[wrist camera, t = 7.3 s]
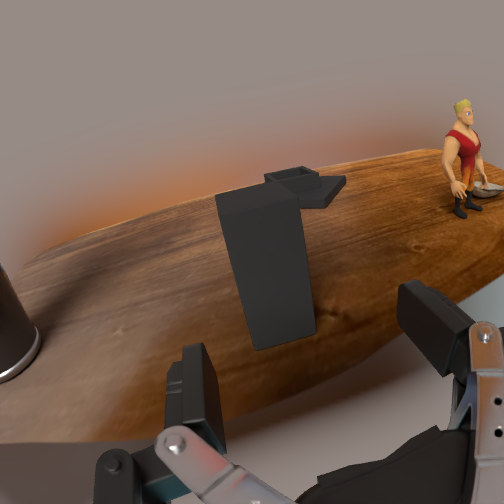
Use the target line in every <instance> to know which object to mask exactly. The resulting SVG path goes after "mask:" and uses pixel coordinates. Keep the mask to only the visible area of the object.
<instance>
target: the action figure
mask: <svg viewBox="0 0 504 504" xmlns="http://www.w3.org/2000/svg"><path fill="white" fill-rule="evenodd" d="M454 109H455V111H456V115H457V117H458V120H457V121H456V123H455V124H454V125H453V127H452V129H451V131H450V132H449V133H448V134H447V135H446V139H445V143H444V146H443V152H442V156H441V163H442V168H443V171H444V173H445V175H446V177H447V178H448V179H449V181H450V182H451V190H452V193H453V195H454V196H455V208H454V212H455V213H456V214H457V215H458V216H459V217H461V218H467V214H466V213H464V212H463V211H462V210H461V208H460V201H461V199H463V195H464V196H465V197H466V203H465V207H466V208H474V209H476V210H480V211H481V210H483V208H482V207H481V206H477V205H475V204H473V203H472V202H471V196H472V194H473V188H474V166H475V167H476V168H477V170H478V172H479V177H480V180H481V185H480V186H479V188H480V187H481V186H482V187H481V189H483V187H484V190H486V185H487V188H489V185H488V182H487V177H486V175H485V173H484V169H483V162H482V158H481V155H480V147H481V143H480V140H479V138H478V135H477V133H476V132H475V131H474V130H473V129H471V128H470V127H469V125H473V115H472V111H473V110H472V109H471V104H470V102H469V101H468V100H466V99H463V100H462V101H461V102H458V103H456V104H455V105H454ZM457 155H458V156H459V157H460V158H461V172H462V182H459V181H456V179H455V176H454V173H453V170H452V164H453V162H454V160H455V158H456V156H457Z"/></svg>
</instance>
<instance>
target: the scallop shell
mask: <svg viewBox="0 0 504 504" xmlns="http://www.w3.org/2000/svg"><path fill="white" fill-rule="evenodd" d="M461 182H462V181H461ZM480 185H481V182H477V181H475V182H474V188H473V194H474V195H475V196H478V197H491V196H494V195H497V194H499V193H501V192H503V191H504V187H503V186H499V185H496V184H492V183H488V185H489V188H487V185H486V190H484V187H483V189H481V187H482V186H481V187H480V188H479V186H480Z"/></svg>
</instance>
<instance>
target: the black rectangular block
mask: <svg viewBox="0 0 504 504" xmlns="http://www.w3.org/2000/svg"><path fill="white" fill-rule="evenodd" d="M215 200H216V205H217V210H218V215H219V219H220V223H221V227H222V231H223V235H224V239H225V243H226V246H227V250H228V254H229V258H230V262H231V265H232V269H233V273H234V277H235V280H236V284H237V288H238V291H239V295H240V299H241V302H242V306H243V310H244V313H245V317H246V320H247V324H248V328H249V331H250V335H251V338H252V342H253V345H254V349H255V351H258V350H262V349H265V348H269V347H273V346H276V345H280V344H283V343H287V342H290V341H294V340H297V339H301V338H304V337H307V336H310V335H314V334H316V325H315V316H314V307H313V299H312V291H311V283H310V275H309V267H308V260H307V253H306V246H305V239H304V232H303V225H302V219H301V213H300V206H299V200H298V197H297V196H296V195H295V194H293V193H292V192H291V191H289V190H288V189H287V188H285V187H284V186H283V185H281V184H280V183H279V182H277V181H272V182H267V183H263V184H258V185H254V186H250V187H246V188H242V189H237V190H233V191H229V192H225V193H221V194H217V195H215Z"/></svg>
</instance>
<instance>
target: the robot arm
mask: <svg viewBox="0 0 504 504" xmlns="http://www.w3.org/2000/svg"><path fill="white" fill-rule="evenodd" d="M397 321H398V324H399V326H400V327H401V329H402V330H403V331H404V332H405V333H406V335H407V336H408V337H409V338H410V339H411V340H412V341H413V343H414V344H415V345H416V346H417V347H418V348H419V350H420V351H421V352H422V353H423V354H424V356H425V357H426V358H427V359H428V360H429V362H430V363H431V364H432V365H433V366H434V368H435V369H436V370H437V371H438V373H439V374H440V375H441V376H442V377H445V376H447V375H448V374H450V373H453V374H454V375H455V376H454V379H453V393H452V394H453V395H452V408H451V418H450V423H449V426H448V429H447V430H443V431H440V430H439V428H438V427H437V425H435V426H433V427H431V428H430V429H428V430H426V431H424V432H422V433H420V434H419V435H417V436H415V437H413V438H411V439H409V440H408V441H407V442H406V443H405V444H403V445H402V446H401V447H400V448H399V449H397V450H396V451H395V452H394V453H392V454H391V455H390V456H388V457H387V458H385V459H383V460H378V461H374V462H368V463H362V464H356V465H349V466H347V467H344V468H341V469H338V470H336V471H332V472H329V473H326V474H324V475H320V476H317V481H318V484H316V485H314V486H313V487H311V488H309V489H308V490H307V491H305V492H304V493H303V494H302V495H300V496H299V498H297V499H296V500H295V501H292V500H291V499H289V498H288V497H286V496H284V495H283V494H281V493H279V492H278V491H277V490H275V489H273V488H272V487H271V486H269V485H267V484H266V483H265V482H263V481H262V480H260V479H259V478H257V477H256V476H254V475H253V474H252V473H250V472H249V471H247V470H246V469H244V468H243V467H241V466H239V465H237V466H236V465H234V464H233V463H231V462H230V461H229V460H227V459H226V458H225V457H223V456H222V455H223V454H227V451H226V444H225V436H224V428H223V420H222V412H221V403H220V394H219V385H218V380H217V376H216V372H215V370H214V367H213V365H212V363H211V360H210V358H209V355H208V353H207V351H206V348H205V346H204V344H203V343H197V344H193V345H188V346H184V347H183V358H182V361H178V362H173V364H172V366H171V368H170V369H169V371H168V373H167V388H166V393H167V395H166V405H165V426H164V431H162V432H161V433H160V434H159V435H158V437H157V438H156V441H155V444H154V445H152V446H150V447H148V448H146V449H143V450H141V451H138V452H136V453H133V454H129V453H128V452H126V451H124V450H122V449H111V450H108V451H106V452H105V453H103V454H102V455H101V457H100V458H99V459H98V461H97V464H96V472H95V485H94V503H93V504H171V500H173V499H175V498H178V497H181V496H183V495H185V494H188V493H190V492H193V493H194V494H195V495H197V496H198V498H199V499H200V500H201V501H202V502H203V503H204V504H504V327H501V328H498V327H496V326H495V325H494V324H492V323H489V322H483V321H481V322H477V323H476V322H475V321H474V320H473V319H471V318H470V317H469V316H468V315H467V314H466V313H465V312H463V311H462V310H461V309H460V308H459V307H458V306H457V305H456V304H454V303H453V302H452V301H451V300H450V299H447V297H446V296H445V295H444V294H443V293H441V292H440V291H439V290H436V289H434V288H431V287H426V286H425V285H424V284H422V283H421V282H420V281H419V280H417V279H414V280H411V281H409V282H406V283H403V284H401V285H400V286H399V288H398V302H397ZM40 345H41V335H40V333H39V332H38V330H37V328H36V327H35V326H34V325H33V322H32V321H31V319H30V318H29V316H28V315H27V313H26V311H25V309H24V307H23V305H22V303H21V302H20V300H19V298H18V296H17V294H16V292H15V290H14V288H13V286H12V284H11V282H10V280H9V278H8V276H7V274H6V271H5V270H4V267H3V265H2V263H1V260H0V383H2V382H5V381H7V380H9V379H11V378H12V377H14V376H15V375H17V374H18V373H19V372H21V371H22V370H23V369H24V368H25V367H26V366H27V365H28V364H29V363H30V362H31V361H32V359H33V358H34V357H35V355H36V353H37V352H38V350H39V348H40Z"/></svg>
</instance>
